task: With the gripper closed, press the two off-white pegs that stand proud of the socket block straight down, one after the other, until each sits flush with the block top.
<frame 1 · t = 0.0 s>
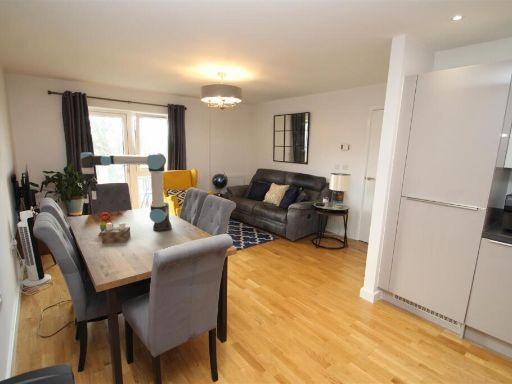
hand: (90, 201, 201), 28 cm above the table, fingers open, 13 cm apart
stacking bear: (107, 234, 211), on the table
peg b: (122, 228, 198), point 9 cm above the table, slide at 5.0 cm
peg a: (109, 228, 197), point 9 cm above the table, slide at 5.0 cm
socket block: (116, 239, 199), on the table
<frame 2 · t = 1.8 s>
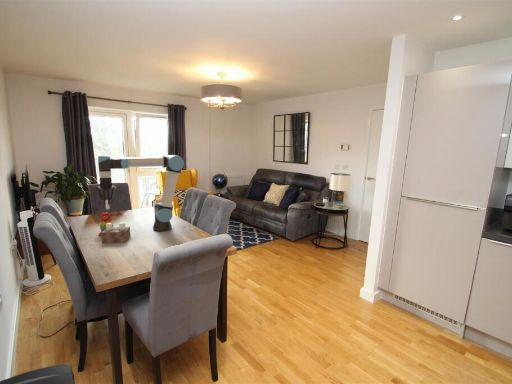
hand: (107, 208, 194), 24 cm above the table, fingers closed
nothing on the table moved.
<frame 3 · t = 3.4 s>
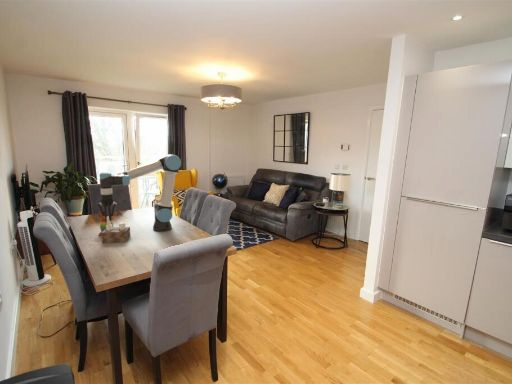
hand: (109, 224, 196), 12 cm above the table, fingers closed
peg a: (109, 230, 197), point 8 cm above the table, slide at 3.8 cm, touching gripper
everything else where it was.
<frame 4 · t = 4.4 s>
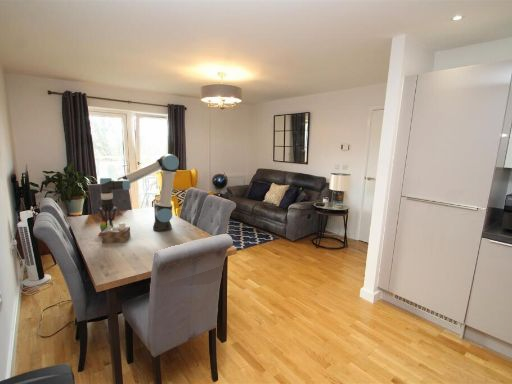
hand: (109, 229, 197), 8 cm above the table, fingers closed
peg a: (110, 234, 197), point 4 cm above the table, slide at 0.2 cm, touching gripper
everything else where it was.
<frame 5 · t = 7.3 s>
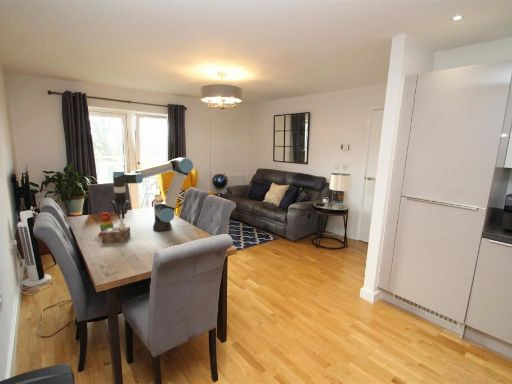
hand: (121, 223, 197), 13 cm above the table, fingers closed
peg b: (122, 228, 198), point 9 cm above the table, slide at 5.0 cm, touching gripper
peg a: (110, 234, 197), point 4 cm above the table, slide at 0.2 cm
everything else where it was.
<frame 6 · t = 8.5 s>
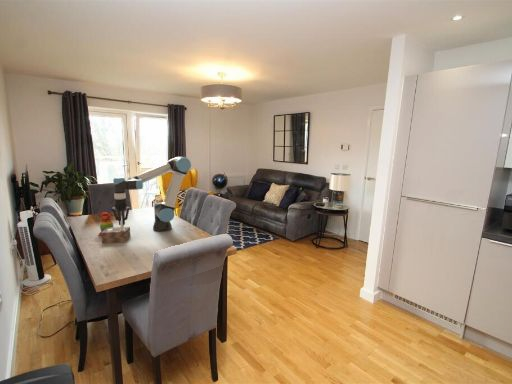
hand: (122, 229, 198), 8 cm above the table, fingers closed
peg b: (122, 234, 199), point 4 cm above the table, slide at 0.2 cm, touching gripper
everything else where it was.
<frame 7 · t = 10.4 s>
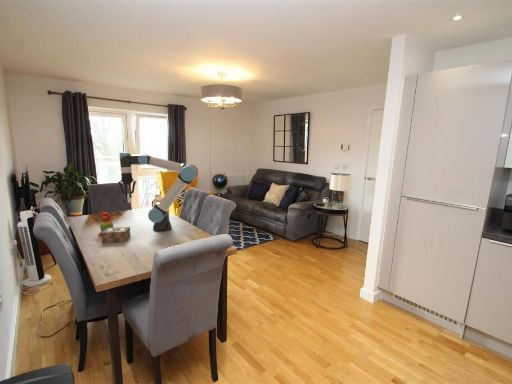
hand: (129, 202, 208), 26 cm above the table, fingers closed
peg b: (122, 234, 199), point 4 cm above the table, slide at 0.2 cm
everything else where it was.
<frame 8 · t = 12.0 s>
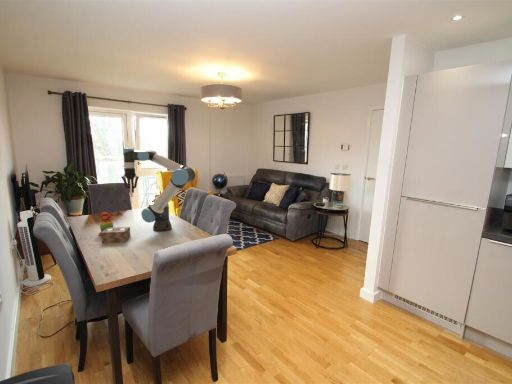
hand: (131, 196, 213), 29 cm above the table, fingers closed
nothing on the table moved.
at the end: peg a slide at 0.2 cm; peg b slide at 0.2 cm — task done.
